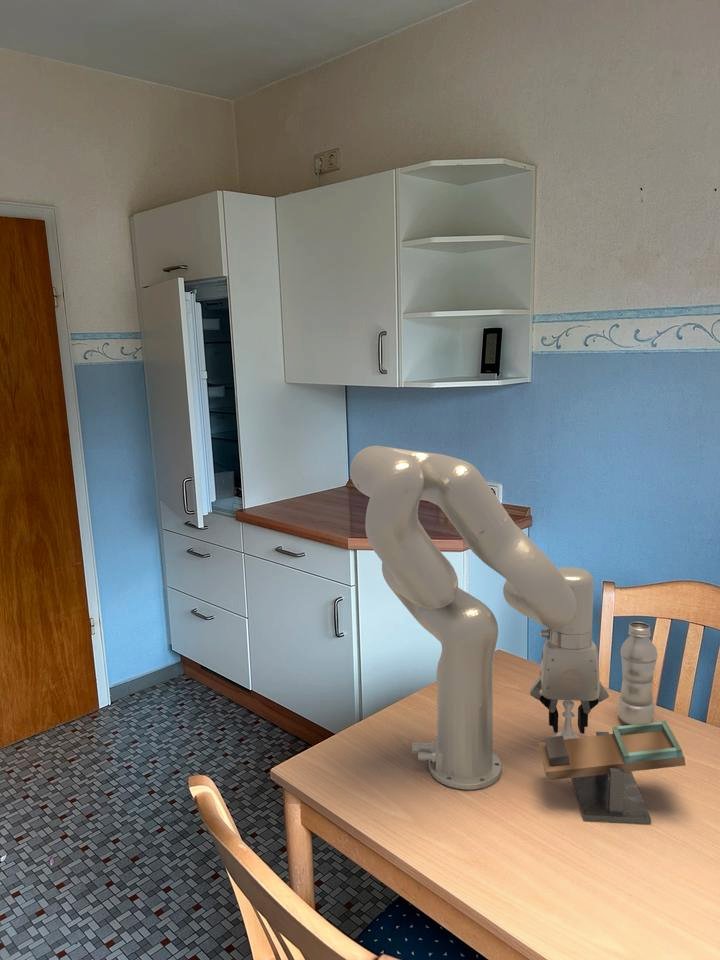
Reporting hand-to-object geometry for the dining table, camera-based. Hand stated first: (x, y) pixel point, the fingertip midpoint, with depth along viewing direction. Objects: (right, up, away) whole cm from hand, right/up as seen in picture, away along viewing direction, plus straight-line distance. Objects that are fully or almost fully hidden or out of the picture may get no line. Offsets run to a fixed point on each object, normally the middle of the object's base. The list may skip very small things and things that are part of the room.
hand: (567, 728), depth 133 cm
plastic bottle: (+15, -1, +6) cm, 16 cm away
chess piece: (0, -3, +1) cm, 3 cm away
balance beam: (+2, +1, -17) cm, 17 cm away
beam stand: (+2, -6, -16) cm, 17 cm away
